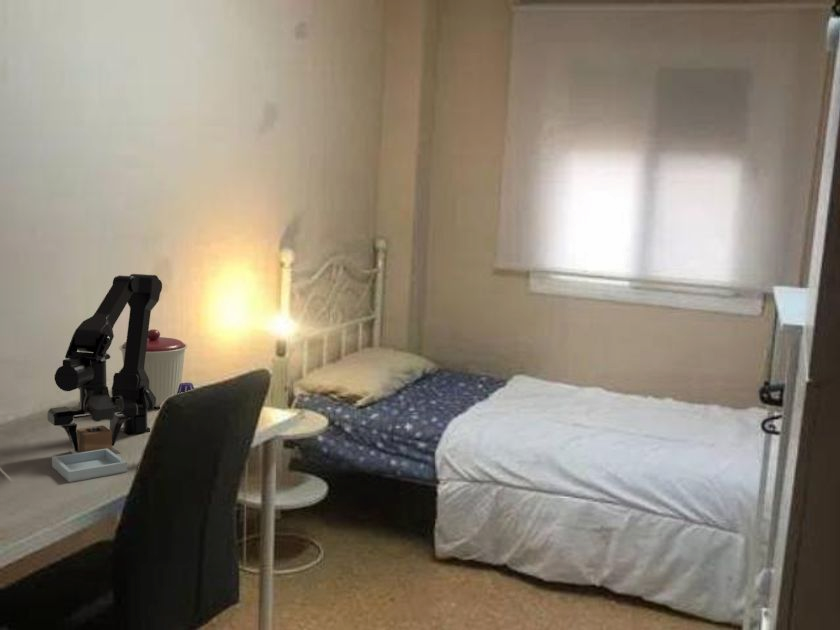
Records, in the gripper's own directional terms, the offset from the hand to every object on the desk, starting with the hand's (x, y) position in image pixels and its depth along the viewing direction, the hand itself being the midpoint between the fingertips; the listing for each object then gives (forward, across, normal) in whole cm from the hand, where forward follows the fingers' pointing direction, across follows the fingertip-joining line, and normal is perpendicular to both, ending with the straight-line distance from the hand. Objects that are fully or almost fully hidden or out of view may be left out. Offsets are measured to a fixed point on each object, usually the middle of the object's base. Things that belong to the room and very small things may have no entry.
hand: (94, 448), depth 203 cm
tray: (+1, -5, -12) cm, 13 cm away
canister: (+1, +28, +36) cm, 46 cm away
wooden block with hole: (+1, 0, +1) cm, 1 cm away
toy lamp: (+1, +17, -12) cm, 21 cm away
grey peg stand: (+1, 0, 0) cm, 1 cm away
